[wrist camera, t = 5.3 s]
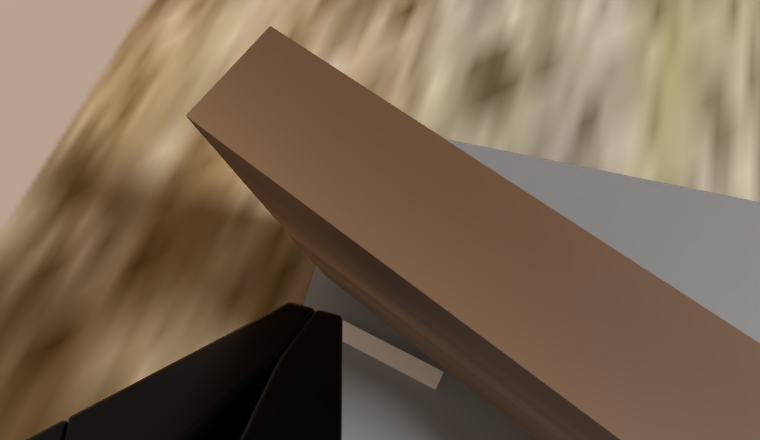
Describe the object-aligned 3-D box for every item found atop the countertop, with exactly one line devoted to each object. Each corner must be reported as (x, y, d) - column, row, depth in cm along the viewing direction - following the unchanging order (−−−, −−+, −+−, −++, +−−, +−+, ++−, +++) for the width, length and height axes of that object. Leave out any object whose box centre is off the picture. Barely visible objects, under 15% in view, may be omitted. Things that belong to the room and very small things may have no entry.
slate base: (730, 826, 11) (746, 849, 11) (207, 631, 13) (197, 642, 13) (769, 210, 15) (782, 203, 15) (360, 127, 17) (358, 118, 16)
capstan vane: (702, 614, 12) (1441, 1207, 3) (308, 297, 15) (141, 163, 6) (788, 458, 12) (1565, 599, 4) (397, 187, 15) (359, -71, 7)
